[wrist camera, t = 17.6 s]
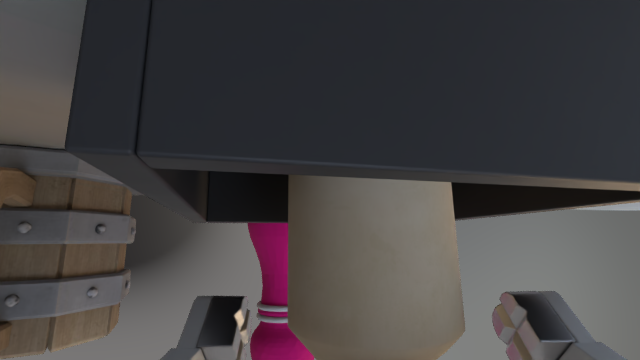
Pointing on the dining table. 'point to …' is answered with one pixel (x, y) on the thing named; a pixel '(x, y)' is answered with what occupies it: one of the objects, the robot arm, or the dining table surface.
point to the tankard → (59, 250)
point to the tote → (361, 100)
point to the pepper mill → (274, 297)
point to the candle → (373, 268)
